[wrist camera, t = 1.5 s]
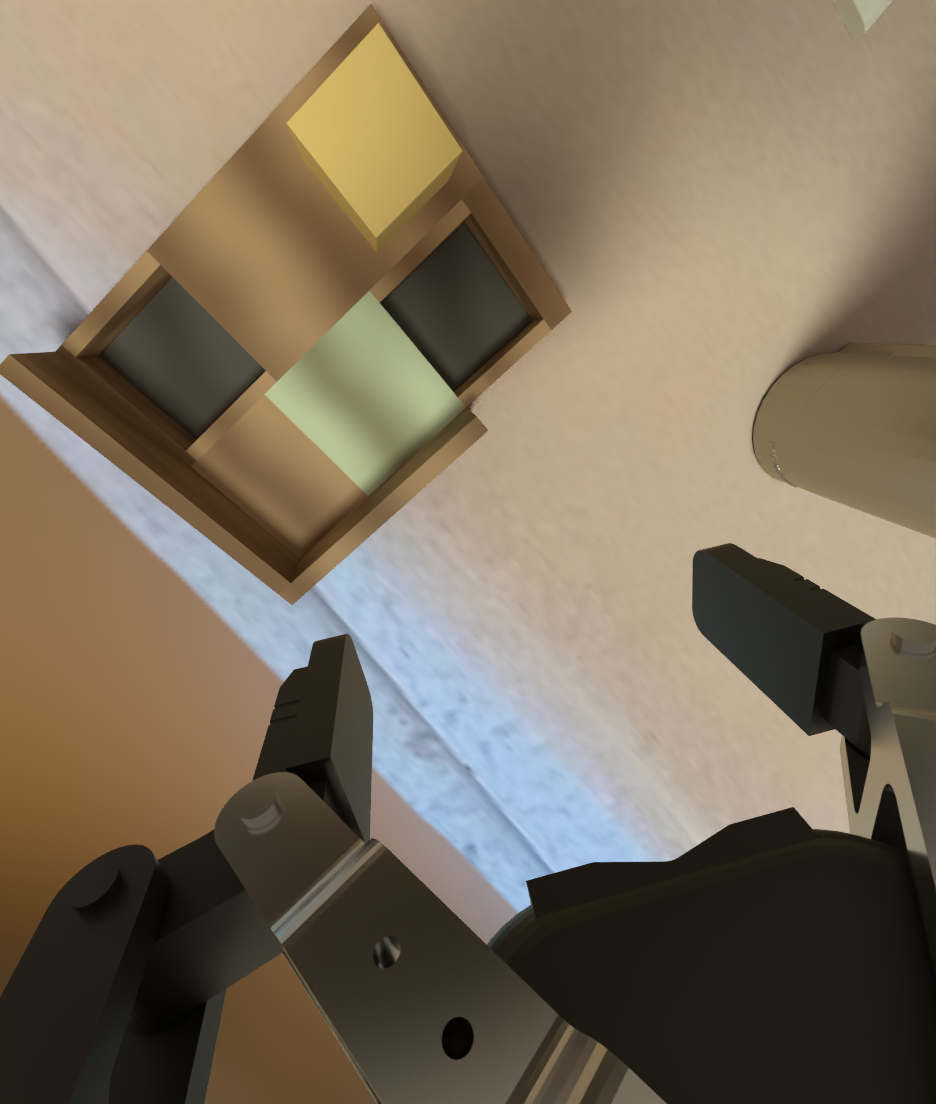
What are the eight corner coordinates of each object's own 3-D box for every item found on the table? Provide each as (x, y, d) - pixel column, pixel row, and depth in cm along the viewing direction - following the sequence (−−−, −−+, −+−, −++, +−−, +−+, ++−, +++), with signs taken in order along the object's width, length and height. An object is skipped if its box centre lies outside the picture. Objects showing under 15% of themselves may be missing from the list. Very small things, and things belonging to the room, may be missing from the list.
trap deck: (371, 34, 24) (369, -51, 19) (566, 326, 31) (606, 325, 26) (70, 362, 28) (-5, 370, 22) (305, 562, 35) (292, 605, 29)
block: (378, 77, 23) (378, 22, 19) (449, 180, 25) (462, 151, 21) (302, 158, 24) (286, 123, 20) (376, 252, 26) (376, 238, 22)
